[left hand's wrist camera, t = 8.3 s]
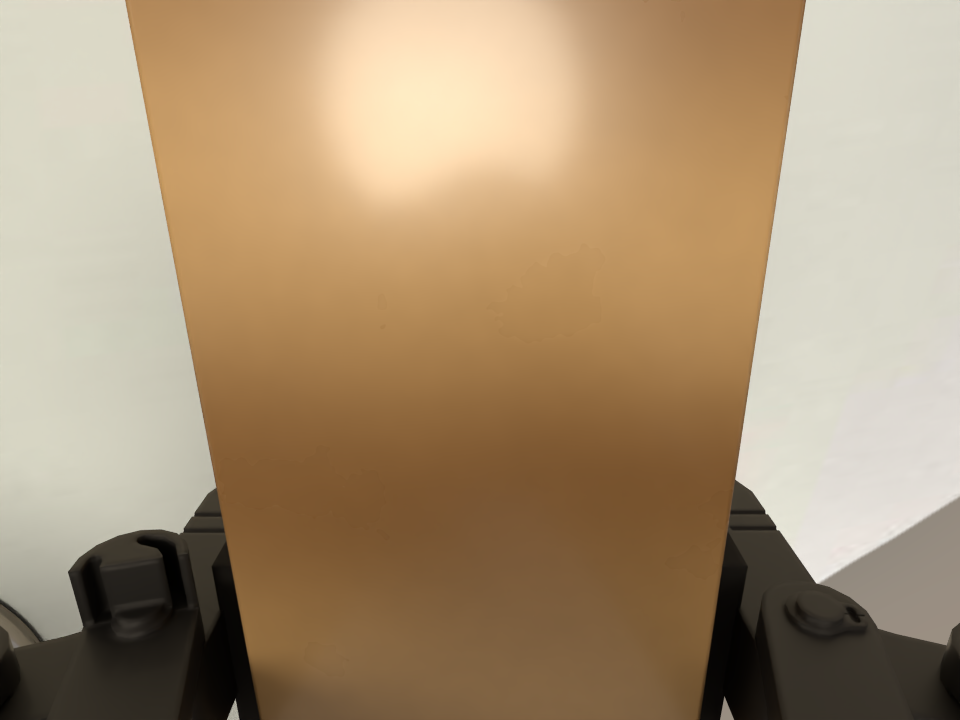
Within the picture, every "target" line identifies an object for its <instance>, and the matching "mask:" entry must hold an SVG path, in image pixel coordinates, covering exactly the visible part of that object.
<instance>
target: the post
mask: <svg viewBox="0 0 960 720" xmlns="http://www.w3.org/2000/svg"><path fill="white" fill-rule="evenodd" d="M125 1H126V7H127V12H128V18H129V23H130V28H131V34H132V39H133V44H134V50H135V55H136V60H137V66H138V71H139V76H140V82H141V87H142V92H143V98H144V103H145V108H146V114H147V119H148V124H149V130H150V135H151V140H152V146H153V151H154V156H155V162H156V167H157V172H158V178H159V183H160V188H161V194H162V199H163V204H164V210H165V215H166V220H167V226H168V231H169V236H170V242H171V247H172V252H173V258H174V263H175V268H176V274H177V279H178V284H179V290H180V295H181V300H182V306H183V311H184V316H185V322H186V327H187V333H188V338H189V343H190V349H191V354H192V359H193V365H194V370H195V375H196V381H197V386H198V391H199V397H200V402H201V407H202V413H203V418H204V423H205V429H206V434H207V439H208V445H209V450H210V455H211V461H212V466H213V471H214V477H215V482H216V487H217V493H218V498H219V503H220V509H221V514H222V519H223V525H224V530H225V535H226V541H227V546H228V551H229V557H230V562H231V567H232V573H233V578H234V583H235V589H236V594H237V599H238V605H239V610H240V615H241V621H242V626H243V631H244V637H245V642H246V648H247V653H248V658H249V664H250V669H251V674H252V680H253V685H254V690H255V696H256V701H257V706H258V712H259V717H260V720H700V714H701V707H702V700H703V694H704V687H705V680H706V673H707V666H708V660H709V653H710V646H711V639H712V633H713V626H714V619H715V612H716V605H717V599H718V592H719V585H720V578H721V572H722V565H723V558H724V551H725V544H726V538H727V531H728V524H729V517H730V511H731V504H732V497H733V490H734V484H735V477H736V470H737V463H738V456H739V450H740V443H741V436H742V429H743V423H744V416H745V409H746V402H747V395H748V389H749V382H750V375H751V368H752V362H753V355H754V348H755V341H756V334H757V328H758V321H759V314H760V307H761V301H762V294H763V287H764V280H765V273H766V267H767V260H768V253H769V246H770V240H771V233H772V226H773V219H774V212H775V206H776V199H777V192H778V185H779V179H780V172H781V165H782V158H783V152H784V145H785V138H786V131H787V124H788V118H789V111H790V104H791V97H792V91H793V84H794V77H795V70H796V63H797V57H798V50H799V43H800V36H801V30H802V23H803V16H804V9H805V2H806V0H125Z"/></svg>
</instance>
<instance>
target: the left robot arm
mask: <svg viewBox="0 0 960 720" xmlns="http://www.w3.org/2000/svg"><path fill="white" fill-rule="evenodd" d="M68 573H69V577H70V580H71V584H72V587H73V591H74V594H75V598H76V602H77V605H78V609H79V612H80V616H81V619H82V623H83V626H84V627H83V629H82V632H79V633H75V634H72V635H69V636H65V637H61V638H57V639H52V640H48V641H43V642H40V641H39V640H38V639H37V637H36V636H35V635H34V634H33V632H32V631H31V630H30V629H29V628H28V627H27V626H26V625H25V624H24V623H23V622H22V621H21V620H20V619H19V618H18V617H17V616H15V615H14V614H13V613H12V612H11V611H9V610H8V609H7V608H5V607H4V606H2V605H1V604H0V720H227V718H228V715H229V713H230V711H231V708H232V706H233V703H234V701H235V698H236V703H237V708H238V714H239V719H240V720H260V717H259V712H258V706H257V701H256V696H255V690H254V685H253V680H252V674H251V669H250V664H249V658H248V653H247V648H246V642H245V637H244V631H243V626H242V621H241V615H240V610H239V605H238V599H237V594H236V589H235V583H234V578H233V573H232V567H231V562H230V557H229V551H228V546H227V541H226V535H225V530H224V525H223V519H222V514H221V509H220V503H219V498H218V493H217V488H216V489H214V490H213V491H211V492H210V493H208V494H207V496H206V497H205V499H204V500H203V502H202V503H201V505H200V506H199V507H198V509H197V510H196V512H195V516H194V517H192V518H191V519H190V520H189V522H188V523H187V525H186V526H185V528H184V532H183V533H180V535H178V534H177V533H173V532H169V531H165V530H140V531H136V532H132V533H128V534H124V535H119V536H117V537H114V538H112V539H110V540H108V541H105V542H103V543H101V544H99V545H97V546H95V547H94V548H92V549H91V550H89V551H88V552H87V553H85V554H84V555H82V556H81V557H80V558H79V559H78V560H77V561H76V562H75V564H74V565H73V566H72V568H71V569H70V570H69V571H68ZM724 696H725V698H726V701H727V703H728V706H729V708H730V711H731V713H732V716H733V718H734V720H960V623H959V624H958V625H957V626H956V627H954V628H953V629H952V632H951V635H950V638H949V640H948V643H947V646H946V645H942V644H938V643H933V642H929V641H924V640H920V639H915V638H911V637H907V636H902V635H898V634H894V633H891V632H887V631H884V630H880V629H878V628H877V626H876V624H875V623H874V621H873V620H872V618H871V617H870V615H869V614H868V613H867V611H866V610H865V609H864V608H862V607H861V606H860V605H859V604H857V603H856V602H855V601H854V600H852V599H851V598H850V597H848V596H846V595H844V594H842V593H840V592H838V591H836V590H834V589H832V588H830V587H827V586H823V585H820V584H816V583H815V581H814V580H813V578H812V577H811V575H810V574H809V573H808V571H807V570H806V568H805V567H804V565H803V564H802V563H801V561H800V560H799V558H798V557H797V555H796V554H795V552H794V551H793V550H792V548H791V547H790V545H789V544H788V542H787V541H786V540H785V538H784V537H783V535H782V534H781V532H780V531H779V530H776V525H775V524H774V522H773V521H772V520H771V518H770V517H769V515H768V514H765V509H764V508H763V507H762V505H761V504H760V502H759V501H758V499H757V498H756V497H755V495H754V494H753V492H752V491H750V490H749V489H748V488H746V487H745V486H743V485H742V484H740V483H739V482H738V481H736V480H735V484H734V490H733V497H732V504H731V511H730V517H729V524H728V531H727V538H726V544H725V551H724V558H723V565H722V572H721V578H720V585H719V592H718V599H717V605H716V612H715V619H714V626H713V633H712V639H711V646H710V653H709V660H708V666H707V673H706V680H705V687H704V694H703V700H702V707H701V714H700V720H720V717H721V711H722V706H723V700H724Z"/></svg>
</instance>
